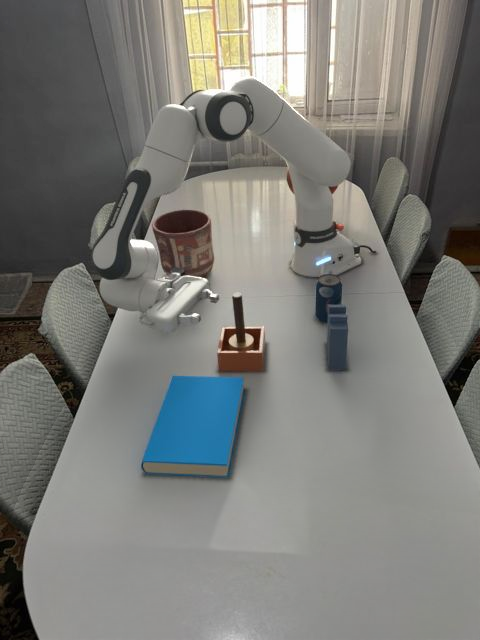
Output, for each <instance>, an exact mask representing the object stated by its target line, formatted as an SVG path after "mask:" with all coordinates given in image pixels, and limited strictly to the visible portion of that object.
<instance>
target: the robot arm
mask: <svg viewBox="0 0 480 640" xmlns="http://www.w3.org/2000/svg"><path fill="white" fill-rule="evenodd" d="M247 131H249V132H250V133H252V135H254V136H255V137H256V138H258V140H259V141H261V142H262V143H263V144H265V145H266V146H267V147H268V148H269V149H270V150H272V151H273V153H276V155H278V156H279V157H281V158H283V160H284V161H285V164H286V165H287V170H288V169H289V173H290V177H291V182H292V186H293V190H294V194H293V197H294V202H295V205H294V207H295V223H294V229H293V231H294V232H293V233H294V234H293V235H294V236H293V238H294V243H293V246H294V250H293V255H292V260H291V263H290V268H291V270H292V271H293V272H294V273H296V274H298V275H301V276H304V277H309V278H310V277H312V278H314V277H315V278H319V277H320V276H322V275H324V274H334V275H337V276H339V275H340V274H342V273H345V272H347V271H349V270H351V269H353V268H355V267H357V266H359V265H361V264H362V258H361V256H360V254H361V248H364V249H368V251H370V253H372V254H376V253H377V250H373V249H372V247H370V246H369V245H363V244H359V243H358V242H357V241H356V240H355V239H354V238H352V239H348V237H346V236H344V235H343V234H341V233H340V232H343V231H344V229H345V226H344V225H343V224H341V223H340V222H338V223H337V221H335V220H334V196H333V194H331V192H330V190H329V187H334V186H338V187H339V186H340V185H341V184H343V182H345V181H346V179H347V178H348V177H349V174H350V173H351V172H350V171H351V158H350V156H349V154H348V153H347V152H346V151H345V150H344V149H343V148H342V147H341V146H339V145H338V144H337V143H335V141H334V140H332V138H330V137H329V136H327V135H326V134H325V133H324V132H323V131H321V130H320V129H319V128H317V127H316V126H315V125H314V124H312V123H311V122H310V121H308V120H307V119H306V118H305V117H303V116H302V115H301V114H300V113H299V112H298V111H297V110H295V108H294V107H293V106H291V105H290V103H288V102H287V101H286V100H285V99H284V98H283V97H282V96H281V95H280V94H278V93H277V91H275V90H274V89H273V88H271V86H269V85H267V84H266V83H265V82H263V81H262V80H260V79H258V78H256V77H255V76H252V75H246V76H243V77H241V78H240V79H238V80H236V82H235V83H234V84H233V85H232V87H231V89H230V90H222V89H214V88H213V89H198V90H195V91H192V92H191V93H190V94H188V95H187V96H186V97H185V98H184V99H183V101H181V103H180V104H175V103H170V104H169V103H168V104H165V105H163V106H162V107H161V108H159V110H158V113H157V114H156V116H155V118H154V119H153V123H152V124H151V126H150V129H149V131H148V134H147V136H146V140H145V143H144V147H143V149H142V152H141V155H140V156H139V159H138V161H137V163H136V165H135V166H134V168H133V169H132V170H131V172H129V174H128V175H127V176H126V178H125V180H124V182H123V184H122V186H121V187H120V190H119V193H118V194H117V197H116V200H115V202H114V205H113V207H112V209H111V212H110V215H109V217H108V219H107V222H106V224H105V226H104V228H103V230H102V232H100V234H99V236H98V237H97V239H96V240H95V242H94V243H93V245H92V247H91V251H90V260H91V264H92V267H93V269H94V270H95V272H96V273H97V275H99V276H100V277H101V279H100V280H99V281H100V282H99V294H100V296H101V298H102V299H103V301H104V302H105V303H107V305H110V306H112V307H114V308H117V309H120V310H123V311H128V312H139V313H141V315H140V316H139V323H141V325H145V326H149V327H150V328H152V329H154V330H156V331H158V332H159V331H160V332H162V333H166V334H168V333H169V334H170V333H173V332H174V331H175V330H176V329H178V327H179V326H180V325H189V324H194V325H198V324H199V323H200V322H201V321H202V316H201V314H198V313H193V314H191V313H192V312H193V311H194V310H195V309H196V308H197V307H198V306H199V305H200V304H201V303H202V302H203V300H210V301H209V302H210V303H212V304H217V303H218V302H219V301H220V295H219V294H218V293H213V292H212V291H211V285H210V282H209V280H208V279H207V278H200V277H195V276H188V275H186V276H181V275H180V273H172V274H170V275H166V276H164V277H160V278H157V279H155V278H156V275H157V272H158V266H159V260H160V257H159V252H158V251H157V250H158V249H157V248H156V246H154V244H153V243H151V242H150V241H148V240H145V239H139V238H132V237H133V235H134V232H135V229H136V228H137V226H138V224H139V223H138V222H139V221H140V218H141V216H142V213H143V211H144V209H145V208H146V207H147V205H148V204H149V203H151V202H152V201H153V200H155V199H157V198H159V197H162V196H166V195H169V194H171V193H174V192H175V191H177V190H178V189H180V187H181V186H182V184H183V182H184V181H185V179H186V176H187V174H188V172H189V171H188V170H189V168H190V163H191V162H192V158H193V154H194V150H195V149H196V147H197V145H198V144H199V143H200V142H201V140H203V139H206V140H210V141H218V142H223V143H229V142H233V141H236V140H238V139H240V138H241V137H242V136H243V135H244V134H245V133H246V132H247ZM328 186H329V187H328Z"/></svg>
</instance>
